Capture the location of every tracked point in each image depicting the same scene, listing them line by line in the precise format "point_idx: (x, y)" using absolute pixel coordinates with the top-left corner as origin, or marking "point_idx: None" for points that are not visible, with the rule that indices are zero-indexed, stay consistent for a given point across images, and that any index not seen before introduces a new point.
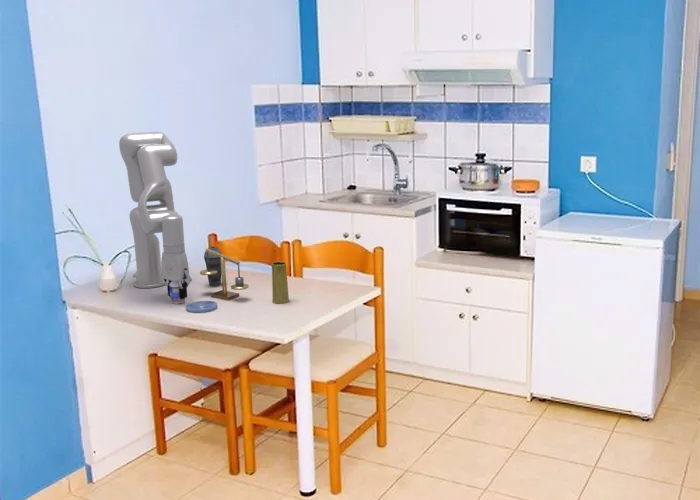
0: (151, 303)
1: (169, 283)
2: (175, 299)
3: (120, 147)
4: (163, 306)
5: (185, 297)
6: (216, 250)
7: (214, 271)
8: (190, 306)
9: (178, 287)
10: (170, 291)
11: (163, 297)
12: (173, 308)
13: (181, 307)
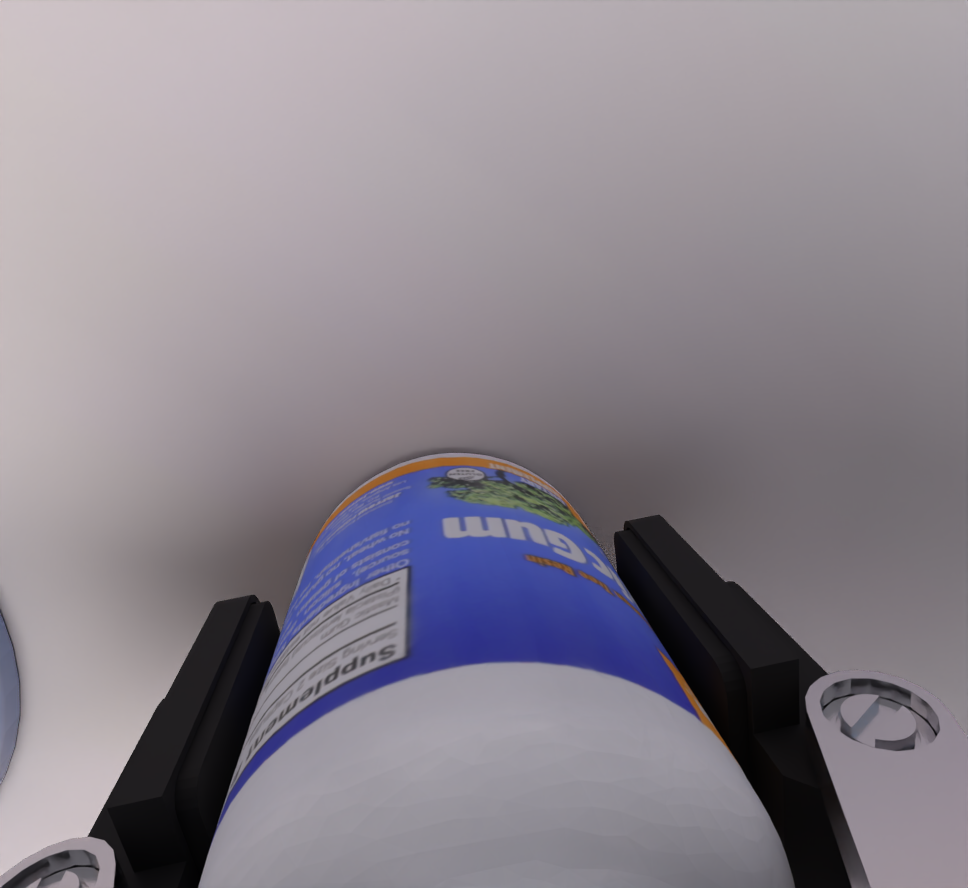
0: (817, 177)
1: (721, 783)
2: (345, 518)
3: None
4: (420, 218)
5: None
6: None
7: None
8: None
9: (218, 831)
10: (509, 563)
11: (912, 551)
12: (100, 278)
13: (47, 437)
